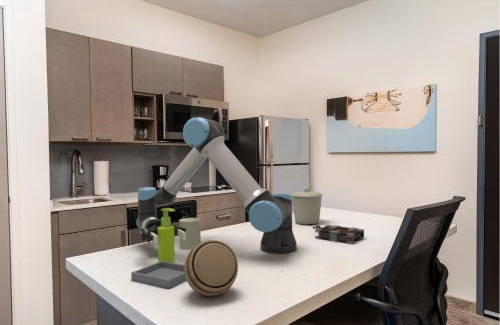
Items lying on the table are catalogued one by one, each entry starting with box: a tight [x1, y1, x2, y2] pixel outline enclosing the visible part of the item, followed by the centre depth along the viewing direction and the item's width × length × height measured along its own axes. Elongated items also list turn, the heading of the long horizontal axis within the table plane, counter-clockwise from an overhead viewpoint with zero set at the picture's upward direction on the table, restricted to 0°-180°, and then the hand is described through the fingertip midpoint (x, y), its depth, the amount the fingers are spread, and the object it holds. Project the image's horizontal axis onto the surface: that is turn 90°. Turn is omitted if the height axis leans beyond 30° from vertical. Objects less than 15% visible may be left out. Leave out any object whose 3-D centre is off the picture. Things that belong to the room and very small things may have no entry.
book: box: [312, 223, 365, 245], centre depth 163 cm, size 15×25×5 cm, turn 51°
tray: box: [130, 261, 187, 290], centre depth 111 cm, size 16×14×2 cm
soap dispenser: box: [157, 207, 176, 263], centre depth 126 cm, size 6×7×20 cm
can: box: [178, 217, 202, 250], centre depth 150 cm, size 9×9×12 cm
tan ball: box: [183, 239, 239, 297], centre depth 97 cm, size 15×15×15 cm
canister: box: [290, 186, 324, 226], centre depth 198 cm, size 18×18×21 cm
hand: (171, 238), depth 122 cm, fingers open, 9 cm apart
